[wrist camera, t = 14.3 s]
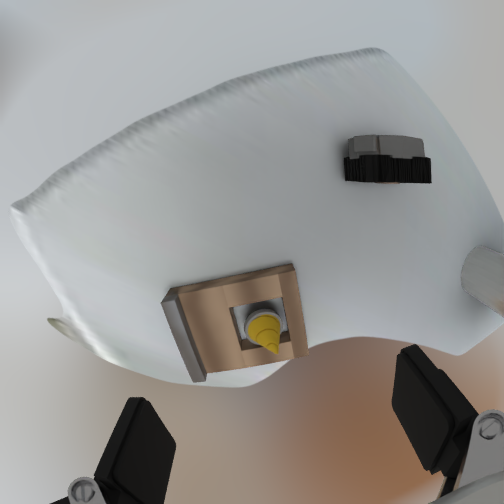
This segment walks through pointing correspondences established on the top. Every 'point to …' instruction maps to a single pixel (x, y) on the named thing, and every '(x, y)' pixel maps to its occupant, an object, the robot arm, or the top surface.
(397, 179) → the cpu cooler
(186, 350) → the jig
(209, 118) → the top surface
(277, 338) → the drill bit
